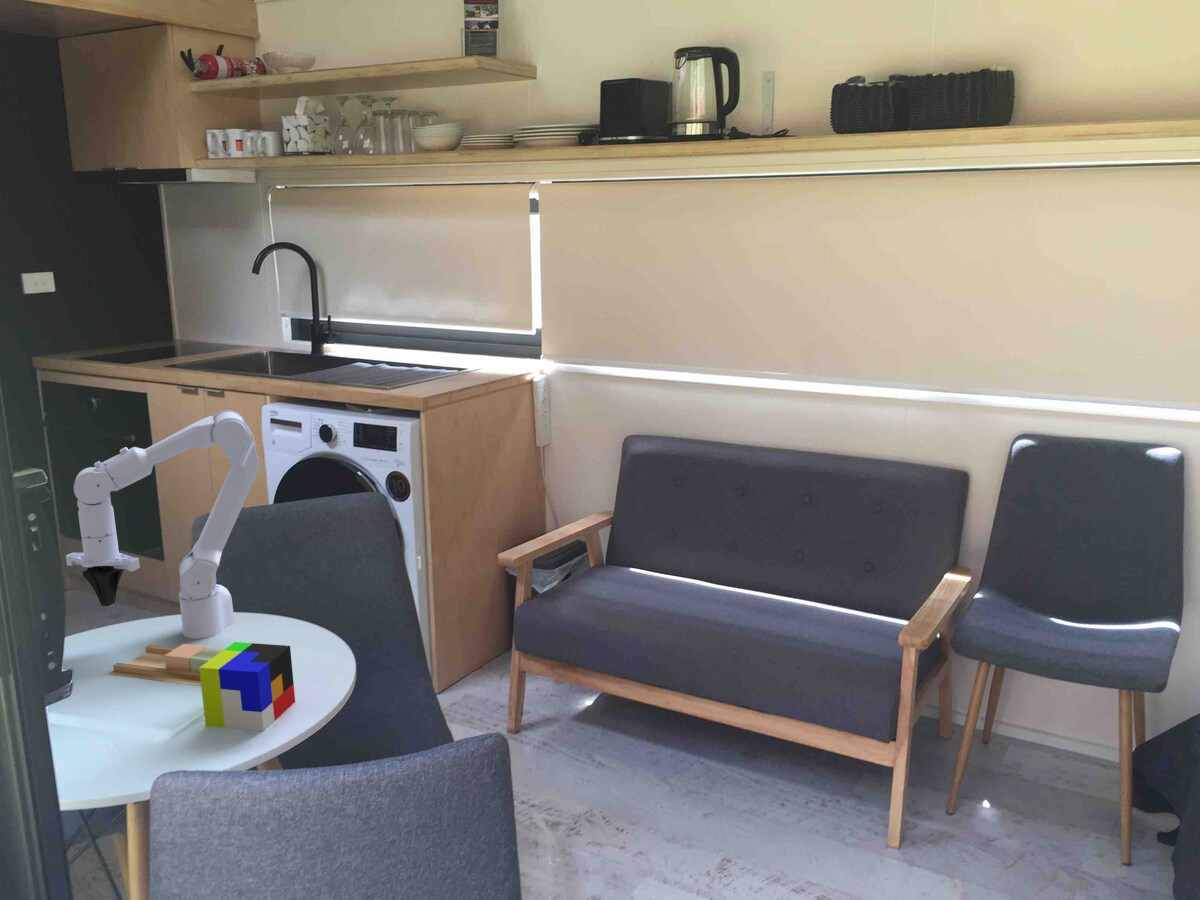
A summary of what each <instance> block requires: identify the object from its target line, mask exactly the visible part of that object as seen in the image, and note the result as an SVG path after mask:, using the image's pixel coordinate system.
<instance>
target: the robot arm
mask: <svg viewBox="0 0 1200 900" xmlns="http://www.w3.org/2000/svg"><path fill="white" fill-rule="evenodd" d="M251 431H252V430H251V429H250V427H249V426H248V424H247V422H246V421H245V420H244V417H242V416H241V415H240V413H238V412H236V411H235V410H234V411H233V410H222V411H220V412H217V413H216V414H215V415H214V416H213V415H210V416H207V417H204V418H202V419H200V420H198V421H196V422H193V423H192V424H189V425H187V426H186V427H184V428H182V429H181V430H179V431H177V432H175V433H173V434H171V435H169V436H167V437H165V438H163V439H162V440H160V441H158V442H156V443H154V444H152V445H150V446H148V447H147V448H140V447H137V446H133V447H131V448H129V449H128V447H126V446H125V447H123V448H121V449H119V454H116V455H114V456H112V457H110V458H109V459H108V458H107V459H106V460H104V461H102V462H101V461H100V460H98V461H96V462H95V463H94V464H93V466H94V467H93V466H91V467H90V466H89V467H86V468H84V469H82V470H81V471H79V473H78V474H77V475H76V478H75V481H74V483H73V492H74V496H75V497H76V498H77V503H76V504H77V507H78V512H77V515H78V522H79V531H80V536H81V544H82V552H71V553H68V554H67V555H65V561H66V566H67V567H68V566H70V567H71V566H75V565H76V566H82V568H87V569H86V570H84V571H82V577H84V579H86V580H87V582H88V583H89V584H90V586H91V587H92V589H93V590H94V592H95V595H96V596H97V599H98V601H99V603H100V605H101V607H110V606H111V605H113V604H115V603H116V597H117V592H118V587H119V582H120V580H121V577H122V574H123V573H124V571H125V570H127V571H128V572H135V571H136V570H139V569H140V568H141V564H140V558H139V557H134V556H130V555H128V554H125V553H121V552H120V551H119V543H118V542H119V541H118V535H117V534H118V533H117V527H116V520H115V519H116V518H115V513H114V512H115V511H114V506H113V505H112V501H111V499H112V498H111V492H118V491H120V490H123V488H125V487H128V486H130V485H132V484H134V483H136V482H138V481H140V480H142V479H144V478H146V477H148V476H150V475H151V474H152V471H153V467H154V466H155V465H156V464H158V463H161V462H164V461H166V460H168V459H169V458H170V459H171V458H172V457H175V456H177V455H178V454H179V455H180V454H181V453H183V452H185V451H187V450H189V449H192V448H194V447H199V448H206V449H213V444H212V443H215V445H216V446H217V447H218V448H219V449H220V450H221V451H222V452H223V453H224V454H225V455H226V457H227V460H228V461H229V463H230V465H231V466H230V469H229V471H228V472H227V474H226V477H225V480H224V481H223V484H222V487H220V488H221V489H220V491H219V493H218V495H217V497H216V500H215V502H214V504H213V506H212V509H211V511H210V513H209V515H208V518H207V519H206V520H207V521H206V522H205V524H204V527H203V528H202V531H201V533H200V535H199V538H198V540H197V541H196V542H195V543H194V545H193V547H192V549H191V551H190V552H189V553H188V554H186V556H185V557H184V558H182V560H181V561H180V562H179V565H178V574H179V578H180V580H179V587H180V591H179V592H178V598H179V599H178V600H179V607H180V608H179V609H180V616H181V617H180V618H181V624H182V633H183V636H184V637H185V638H186V639H193V640H197V639H198V640H199V639H206V638H210V637H214V636H217V635H218V634H221V632H223V631H224V630H225V629H226V628H227V627H229V626H231V625H232V624H233V623H235V618H234V617H235V616H234V607H233V599H232V595H231V593H230V591H229V590H228V588H227V587H225V586H223V585H222V584H217V576H216V575H217V570H218V568H219V567H220V562H221V558H222V554H223V550H224V548H225V547H226V544H227V542H228V539H229V537H230V535H231V533H232V531H233V529H234V526H235V524H236V522H237V520H238V518H239V515H240V512H241V510H242V509H243V506H244V503H245V502H246V500H247V497H248V494H249V493H250V490H251V488H252V486H253V484H254V481H255V479H256V477H257V475H258V472H259V471H260V470H259V469H260V461H259V456H258V453H257V448H256V442H255V437H254V434H253V433H252V432H251Z"/></svg>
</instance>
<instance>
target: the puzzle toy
mask: <svg viewBox="0 0 1200 900" xmlns="http://www.w3.org/2000/svg"><path fill="white" fill-rule="evenodd" d="M291 651H292V650H291V645H283V644H281V645H280V644H267V643H255V642H253V643H252V642H241V641H233V642H232V643H231V644H230V645H228V646H227V647H226V648H225V649H224V650H223V651H221V652H220V653H219V654H217V655H216V656H215V657H213V658H212V659H210V660H209V661H208V662H206V663H205V664H204V665H202V666H201V667H199V671H200V680H201V686H200V687H201V695H202V697H201V698H202V705H203V712H204V722H205V723H204V724H205V727H211V728H212V727H213V728H221V729H232V730H233V729H235V730H246V731H255V732H256V731H257V732H265V731H266V730H267V729H268V728H269V727H270V726H271V725H272V724H273V723H275V722H276V720H277V719H279V718H280V717H281V716H282V715H283V714H284V713H285V712H286V711H287V710H288V709H289V708H290V707H292V706H293V705H294V704H295V703H296V695H295V693H296V692H295V686H294V685H295V684H294V683H295V682H294V675H293V674H294V673H293V663H292V652H291Z"/></svg>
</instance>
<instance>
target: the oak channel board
mask: <svg viewBox="0 0 1200 900" xmlns="http://www.w3.org/2000/svg"><path fill="white" fill-rule="evenodd" d="M206 647H207V648H205V649H204V650H202V651H200V652H199V653H197V654H196V655H194V656H192V657H191V658H190V665H191V672H189V671H180V670H172V669H166V664H165V656H164V655H166V654H167V653H169V652H171V651H173V650H174V649H176V648H177V647H173V646H172V647H171V646H164V645H163V646H162V645H154V644H148V645H146V646H145V648H144V649H145V652H143V653H142V654H139V655H138V656H137V657H135V658H133V659H131V660H129V661H128V662H126V663H124V662H123V663H122V662H117V663H115V664H113V670H112V671H111V672H109V673H108V675H111V676H116V677H117V676H118V677H126V678H135V679H140V680H141V679H143V680H149V681H158V682H166V683H172V684H173V683H174V684H181V685H188V686H189V685H190V686H196V687H197V686H198V687H201V680H200V671H199V667H201V666H202V665H204V664H205V663H206V662H208V661H209V660H210V659H212V658H213V657H215V656H216V655H217V654H219V653H220V652H221V651H223V650H224V649H226V648H225V647H216V646H206Z"/></svg>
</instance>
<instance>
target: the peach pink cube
mask: <svg viewBox="0 0 1200 900" xmlns="http://www.w3.org/2000/svg"><path fill="white" fill-rule="evenodd" d="M207 647H208V646H204V645H196V644H189V643H188V644H186V643H183V644H181V645H180V646H178V647H175V648H176V649H174V650H173V651H171V652H169V653H167V654H166V655H164V656H165V664H166V669H172V670H180V671H189V672H191V665H190V658H191V657H192V656H194V655H196V654H197V653H199V652H200V651H202V650H204V649H205V648H207Z"/></svg>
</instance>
